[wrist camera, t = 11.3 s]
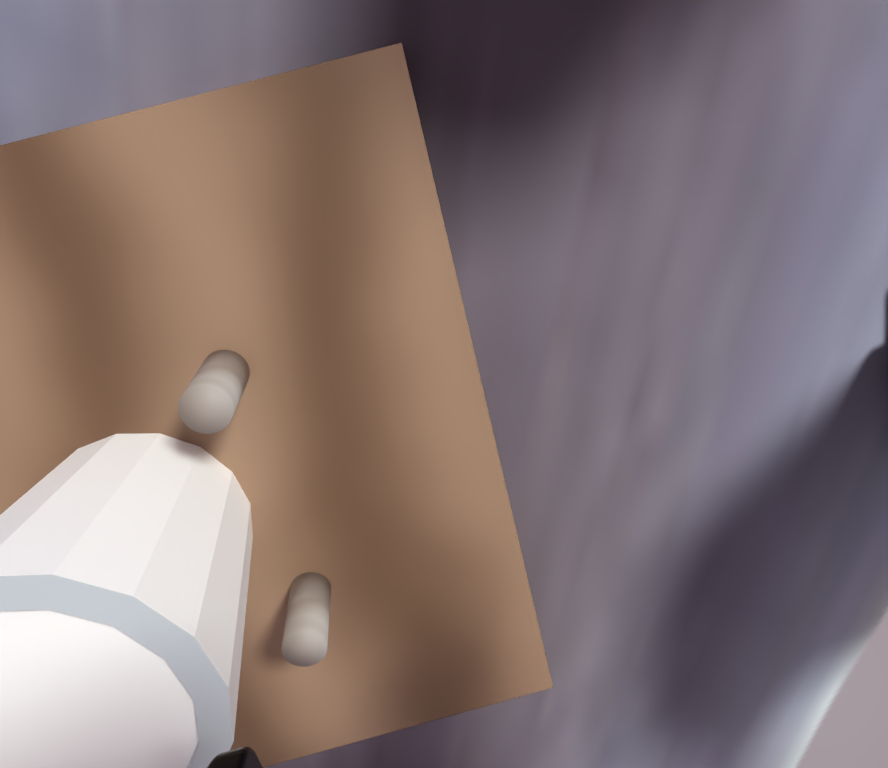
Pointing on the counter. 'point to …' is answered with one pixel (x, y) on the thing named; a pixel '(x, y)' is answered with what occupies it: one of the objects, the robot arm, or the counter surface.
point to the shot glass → (123, 609)
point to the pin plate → (282, 382)
